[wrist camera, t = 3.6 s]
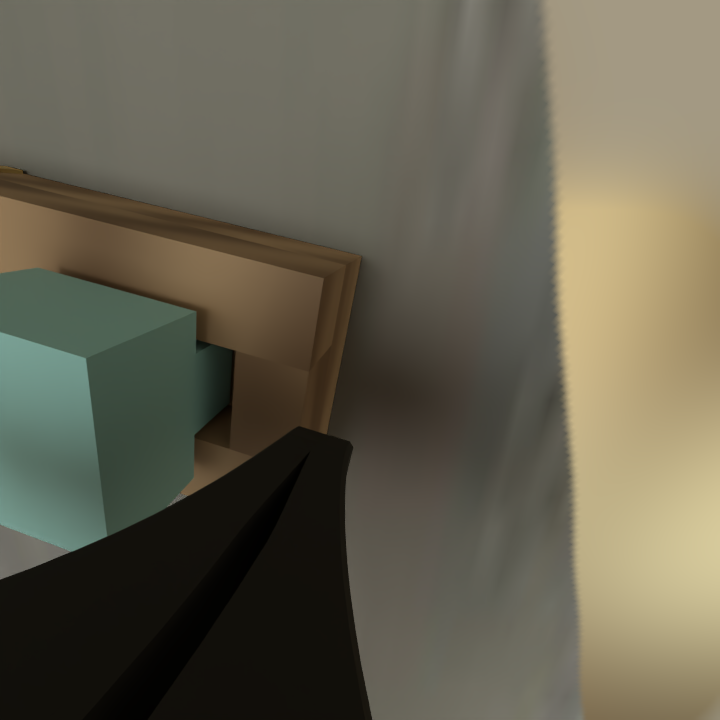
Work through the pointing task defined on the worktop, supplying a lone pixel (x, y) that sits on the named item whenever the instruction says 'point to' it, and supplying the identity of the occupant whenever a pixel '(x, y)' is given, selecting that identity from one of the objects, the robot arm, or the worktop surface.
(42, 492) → the block
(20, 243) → the slotted wooden block
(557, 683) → the worktop surface
